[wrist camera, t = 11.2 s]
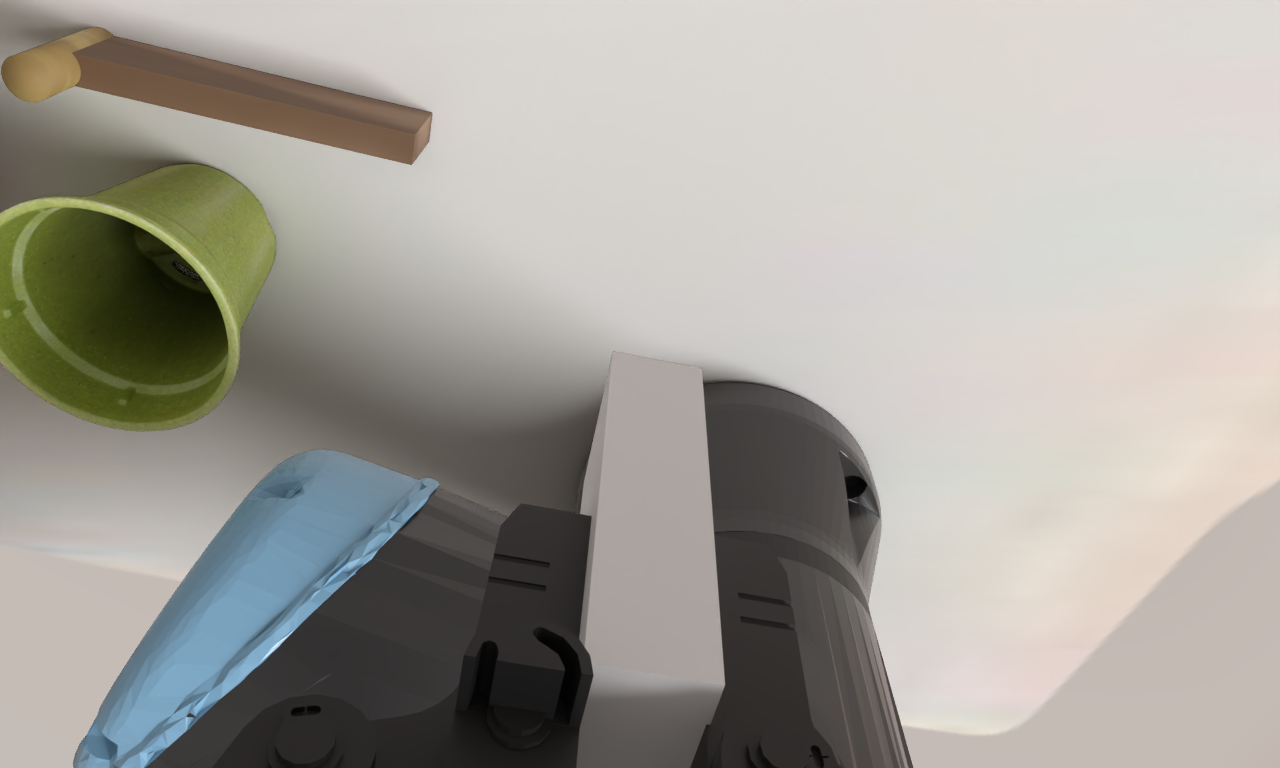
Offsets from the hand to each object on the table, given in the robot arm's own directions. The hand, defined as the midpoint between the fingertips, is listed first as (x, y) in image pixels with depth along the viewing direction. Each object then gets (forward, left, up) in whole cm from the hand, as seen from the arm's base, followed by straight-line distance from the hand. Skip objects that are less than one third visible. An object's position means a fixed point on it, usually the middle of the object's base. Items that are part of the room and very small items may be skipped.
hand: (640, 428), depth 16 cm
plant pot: (-11, +17, -25) cm, 32 cm away
